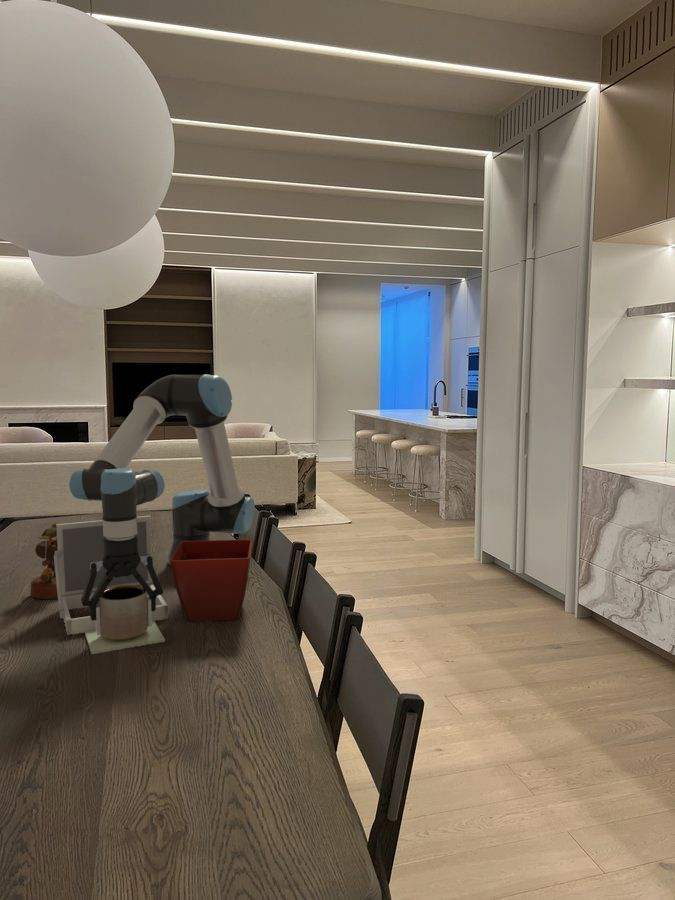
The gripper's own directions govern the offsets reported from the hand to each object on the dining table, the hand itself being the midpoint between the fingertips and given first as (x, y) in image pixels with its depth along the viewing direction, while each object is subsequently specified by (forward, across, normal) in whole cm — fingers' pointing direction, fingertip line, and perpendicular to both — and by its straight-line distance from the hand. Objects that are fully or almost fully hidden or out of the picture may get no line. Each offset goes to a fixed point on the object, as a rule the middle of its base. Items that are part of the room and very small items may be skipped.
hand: (124, 628), depth 158 cm
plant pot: (+2, -24, -7) cm, 25 cm away
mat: (+2, 0, 0) cm, 2 cm away
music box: (+2, +13, -42) cm, 44 cm away
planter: (+1, 0, 0) cm, 1 cm away
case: (+2, 0, -17) cm, 17 cm away
